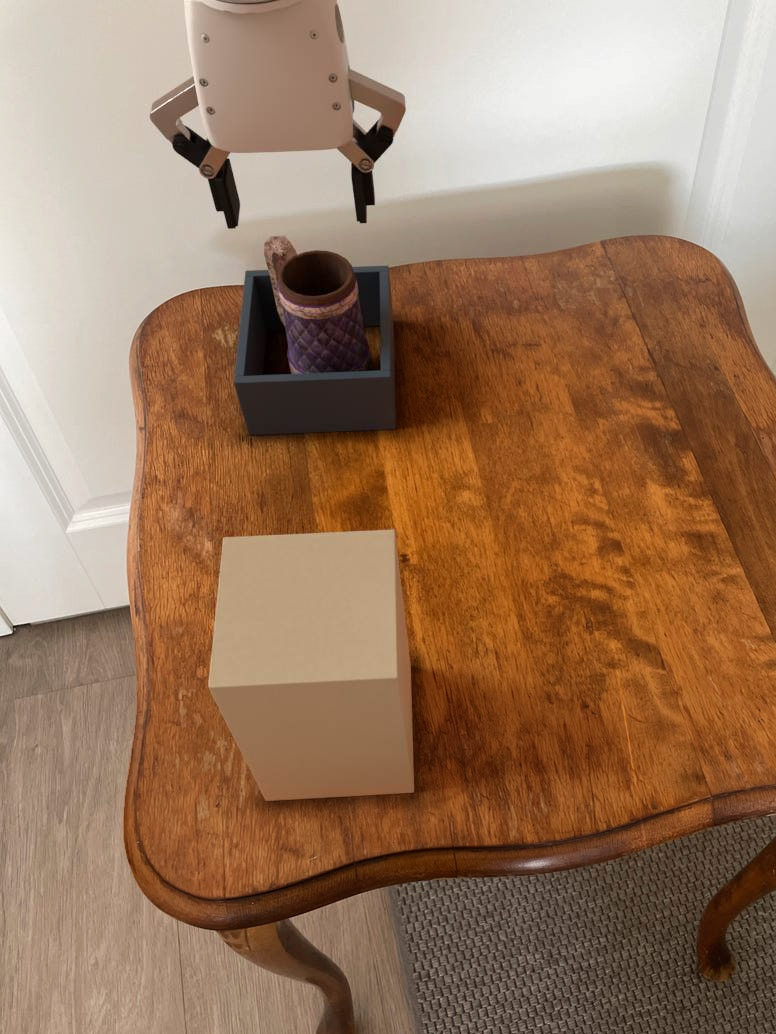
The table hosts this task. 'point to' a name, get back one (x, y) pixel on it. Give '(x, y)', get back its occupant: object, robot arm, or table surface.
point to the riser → (315, 663)
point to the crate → (314, 395)
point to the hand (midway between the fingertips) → (298, 214)
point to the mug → (317, 309)
